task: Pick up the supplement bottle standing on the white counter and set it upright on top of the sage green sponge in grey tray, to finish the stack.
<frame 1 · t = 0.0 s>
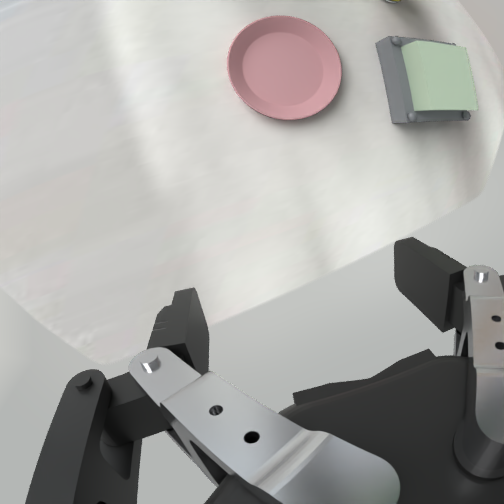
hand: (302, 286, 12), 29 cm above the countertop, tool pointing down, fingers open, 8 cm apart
plate: (283, 68, 35), on the countertop
sponge in grey tray: (417, 82, 36), on the countertop
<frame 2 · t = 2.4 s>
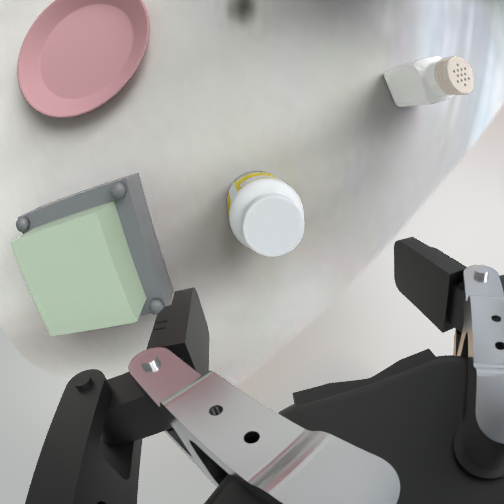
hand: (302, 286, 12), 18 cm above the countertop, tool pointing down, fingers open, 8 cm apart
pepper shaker: (401, 86, 26), on the countertop
supplement bottle: (256, 198, 29), on the countertop
plate: (84, 50, 22), on the countertop
sponge in grey tray: (101, 248, 29), on the countertop
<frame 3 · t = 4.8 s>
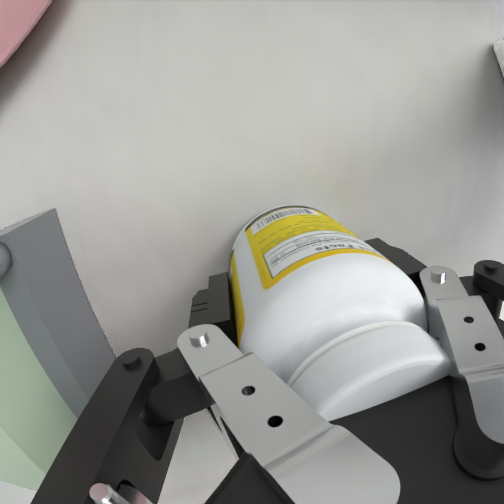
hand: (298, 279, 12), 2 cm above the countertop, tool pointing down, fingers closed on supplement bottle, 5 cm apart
supplement bottle: (288, 258, 15), on the countertop, touching gripper
sponge in grey tray: (19, 332, 14), on the countertop
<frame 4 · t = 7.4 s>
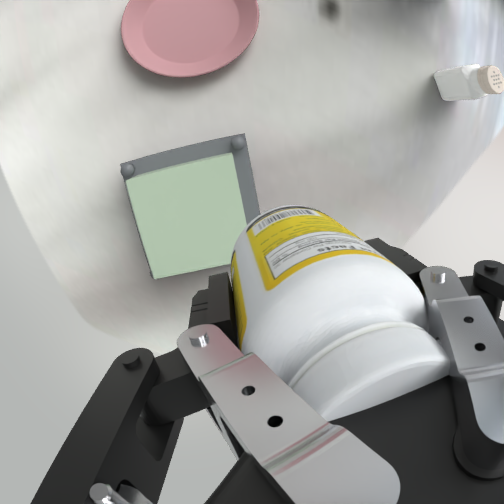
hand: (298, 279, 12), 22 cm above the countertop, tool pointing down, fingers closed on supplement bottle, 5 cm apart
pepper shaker: (445, 84, 30), on the countertop
supplement bottle: (289, 259, 15), point 20 cm above the countertop, touching gripper
plate: (190, 22, 26), on the countertop
sponge in grey tray: (197, 201, 33), on the countertop
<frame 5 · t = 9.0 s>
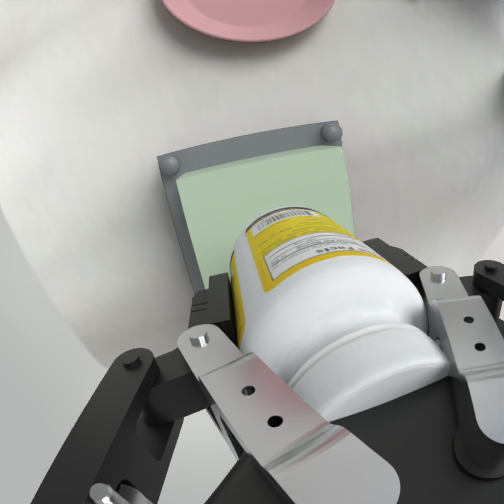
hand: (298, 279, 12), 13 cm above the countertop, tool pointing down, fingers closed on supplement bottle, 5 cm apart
supplement bottle: (288, 260, 15), point 11 cm above the countertop, touching gripper
sponge in grey tray: (259, 210, 25), on the countertop
when the fingers open (11 cm above the countertop, at t = 10.2 s): supplement bottle drops 1 cm, resting on sponge in grey tray.
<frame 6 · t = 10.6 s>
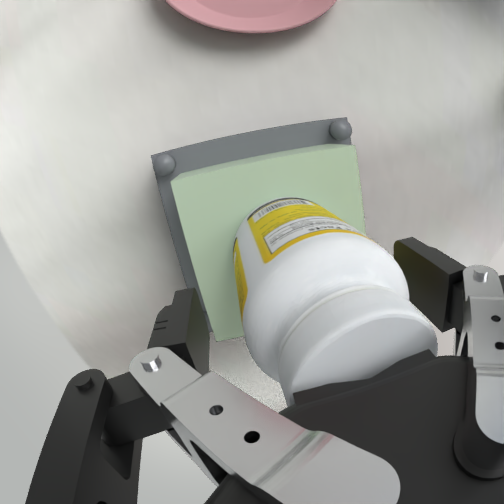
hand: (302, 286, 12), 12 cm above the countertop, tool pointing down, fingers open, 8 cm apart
supplement bottle: (286, 247, 16), point 8 cm above the countertop, touching sponge in grey tray
sponge in grey tray: (262, 213, 23), on the countertop
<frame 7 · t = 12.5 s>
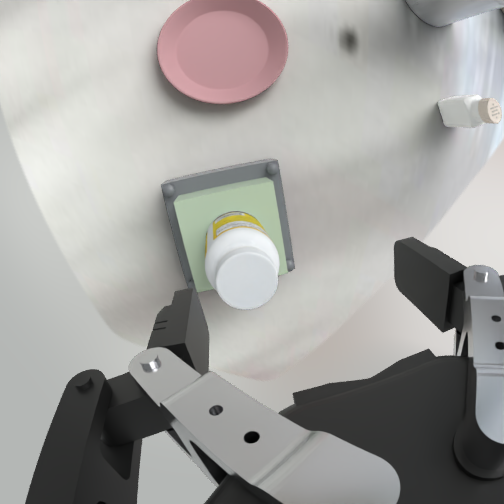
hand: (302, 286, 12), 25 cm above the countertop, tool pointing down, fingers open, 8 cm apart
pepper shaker: (447, 111, 35), on the countertop
supplement bottle: (235, 237, 29), point 8 cm above the countertop, touching sponge in grey tray
plate: (222, 49, 30), on the countertop
sponge in grey tray: (229, 219, 36), on the countertop
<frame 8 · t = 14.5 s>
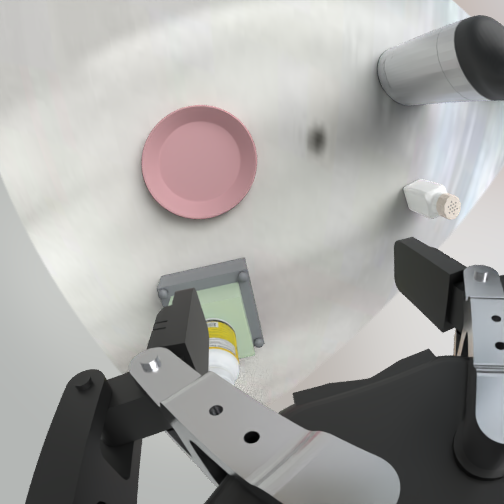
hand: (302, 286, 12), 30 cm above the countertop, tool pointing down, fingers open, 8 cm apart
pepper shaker: (413, 193, 43), on the countertop
supplement bottle: (214, 333, 38), point 8 cm above the countertop, touching sponge in grey tray
plate: (199, 161, 39), on the countertop
sponge in grey tray: (213, 304, 45), on the countertop
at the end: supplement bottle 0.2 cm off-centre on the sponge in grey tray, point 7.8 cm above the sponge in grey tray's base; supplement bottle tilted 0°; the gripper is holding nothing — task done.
